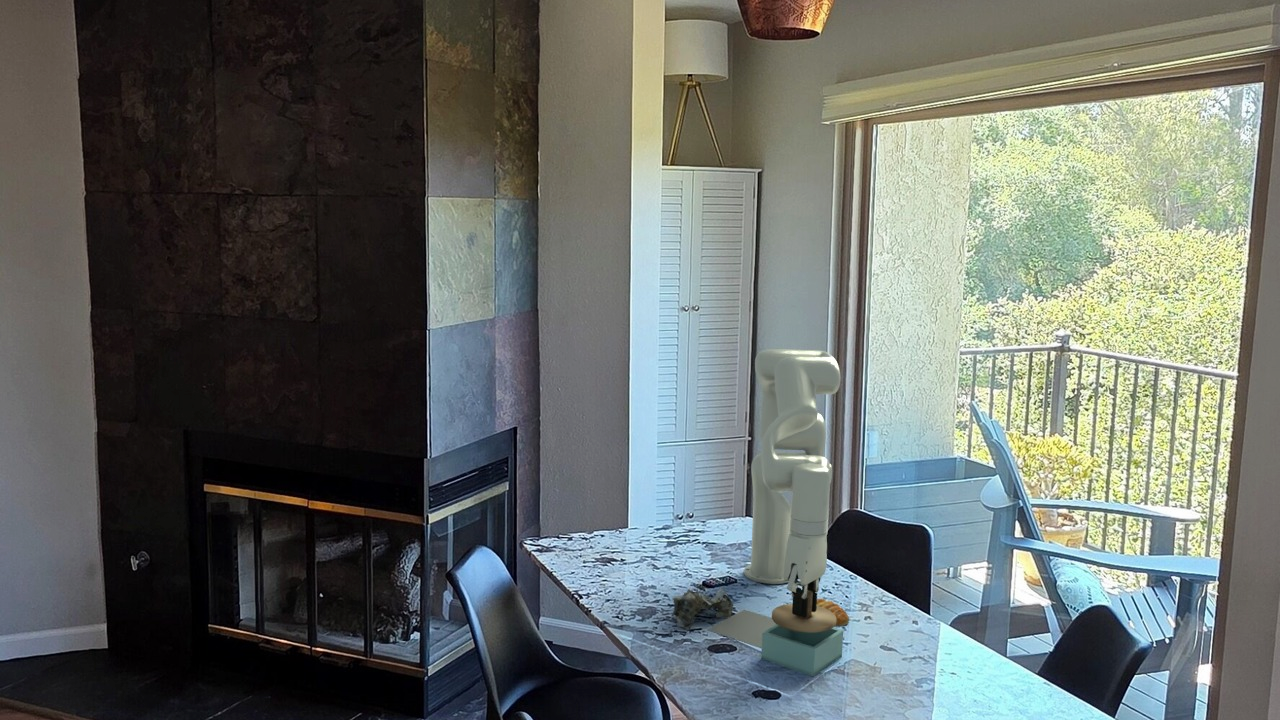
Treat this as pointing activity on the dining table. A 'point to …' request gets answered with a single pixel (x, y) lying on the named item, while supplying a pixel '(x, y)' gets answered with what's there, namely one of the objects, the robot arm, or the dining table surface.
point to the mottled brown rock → (700, 606)
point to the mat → (744, 627)
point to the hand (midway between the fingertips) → (804, 612)
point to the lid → (810, 624)
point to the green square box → (802, 648)
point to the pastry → (834, 611)
